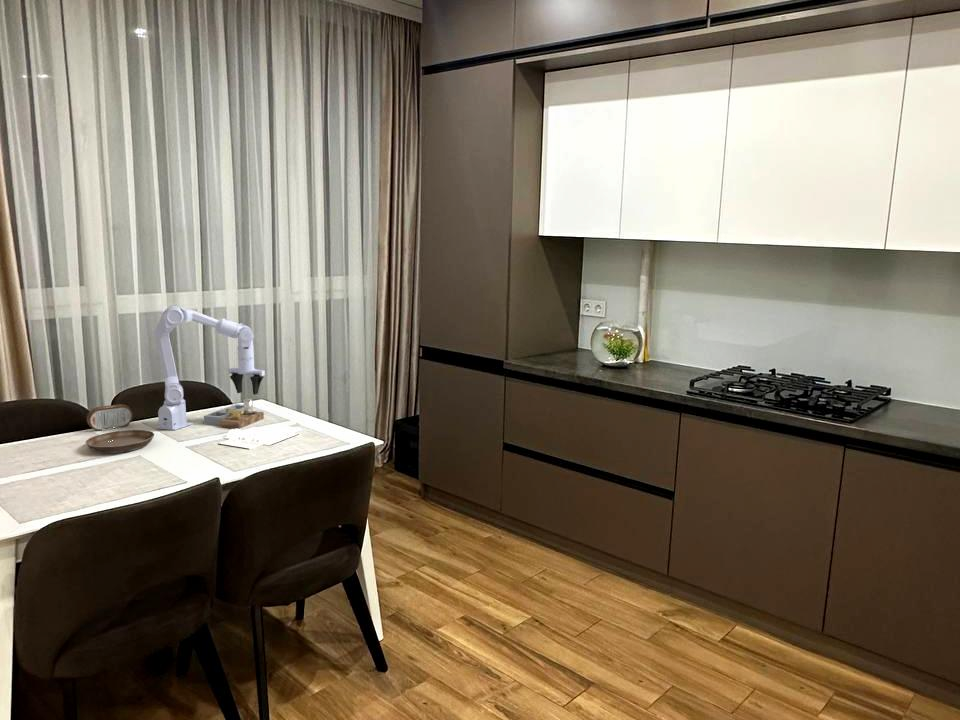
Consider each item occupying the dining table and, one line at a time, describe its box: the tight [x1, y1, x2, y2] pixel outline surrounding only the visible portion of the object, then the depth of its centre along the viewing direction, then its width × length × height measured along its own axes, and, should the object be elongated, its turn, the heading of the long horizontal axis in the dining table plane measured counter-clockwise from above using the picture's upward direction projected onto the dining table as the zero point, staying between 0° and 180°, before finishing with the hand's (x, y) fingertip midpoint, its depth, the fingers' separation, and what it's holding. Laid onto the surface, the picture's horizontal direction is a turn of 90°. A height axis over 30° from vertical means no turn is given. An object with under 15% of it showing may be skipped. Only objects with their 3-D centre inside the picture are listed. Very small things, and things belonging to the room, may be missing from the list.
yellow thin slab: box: [228, 409, 244, 420], centre depth 270 cm, size 1×6×5 cm, turn 74°
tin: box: [86, 403, 134, 431], centre depth 264 cm, size 15×3×8 cm, turn 130°
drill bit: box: [243, 398, 254, 416], centre depth 277 cm, size 3×3×8 cm
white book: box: [217, 423, 303, 450], centre depth 256 cm, size 20×28×4 cm
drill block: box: [219, 410, 265, 430], centre depth 274 cm, size 16×8×2 cm, turn 163°
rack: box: [203, 403, 244, 426], centre depth 280 cm, size 20×7×3 cm, turn 163°
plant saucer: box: [85, 429, 155, 454], centre depth 243 cm, size 21×21×3 cm
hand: (247, 393), depth 276 cm, fingers open, 6 cm apart
